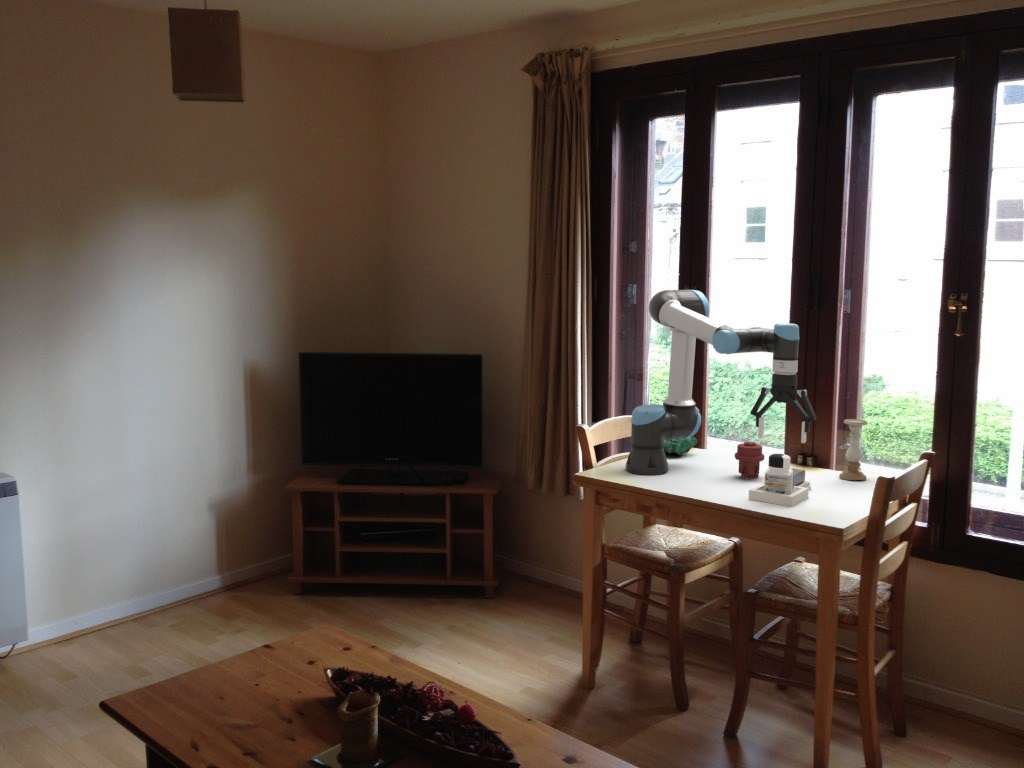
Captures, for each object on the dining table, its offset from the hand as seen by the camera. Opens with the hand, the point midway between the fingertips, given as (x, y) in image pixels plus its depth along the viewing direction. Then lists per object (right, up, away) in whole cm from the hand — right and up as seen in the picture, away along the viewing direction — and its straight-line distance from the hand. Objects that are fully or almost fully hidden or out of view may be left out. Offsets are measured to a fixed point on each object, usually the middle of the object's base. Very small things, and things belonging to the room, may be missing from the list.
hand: (781, 440), depth 279 cm
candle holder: (+33, -15, +28) cm, 46 cm away
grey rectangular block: (+7, -16, +11) cm, 21 cm away
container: (-1, -18, +2) cm, 18 cm away
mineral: (-21, -10, +68) cm, 72 cm away
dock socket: (+3, -18, +6) cm, 19 cm away
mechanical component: (-2, -15, +30) cm, 34 cm away
